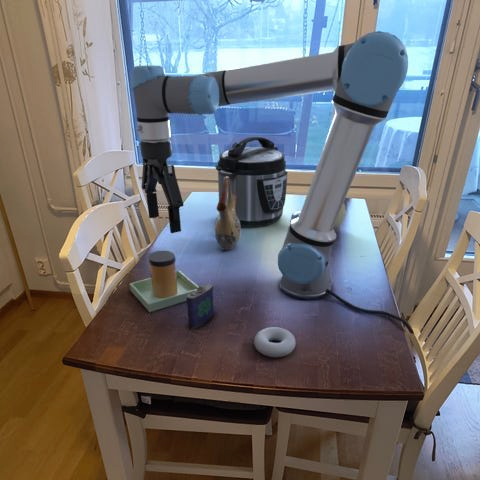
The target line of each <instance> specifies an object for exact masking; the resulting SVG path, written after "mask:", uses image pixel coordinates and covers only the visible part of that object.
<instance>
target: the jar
mask: <svg viewBox="0 0 480 480" xmlns="http://www.w3.org/2000/svg"><path fill="white" fill-rule="evenodd" d="M176 261H177V258H176V254H175V252H173V251H170V250H155V251H153V252H150V253H149V254H148V255H147V262H148V263H147V264H149V265H148V266H149V274H150V278H151V282H152V290H153V295H154V296H156V297H159V298H168V297H171V296H174V295H176V294H177V292H178V289H177V277H176V271H177V267H176Z"/></svg>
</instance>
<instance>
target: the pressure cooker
mask: <svg viewBox="0 0 480 480" xmlns="http://www.w3.org/2000/svg"><path fill="white" fill-rule="evenodd" d="M253 141H257V142H258V143H259V144H260V146H250V147H246V146H247V144H248V143H250V142H253ZM214 168H215V170H216V171H217V176H218V177H217V185H218V189H217V190H218V201H219V200H220V197H221V194H222V190H223V183H224V179H225V177H229V178H230V181H231V188H232V193H233V195H236V196H237V199H236V203H235V212H236V215H237V217H238V219H239V221H240V225H241V227H264V226H267V225H272V224H274V223H276V222H278V221H279V220H280V219H281V218H282V216H283V212H284V207H285V203H286V197H287V187H288V171H287V161H286V160H285V154H284V153H283V152H281V151H279V148H278V146H276V145H275V143H274V142H273V141H271V140H270V139H269V138H266V137H263V136H260V135H259V136H258V135H255V136H248V137H246V138H243V139H241V140H240V141H238V142H236V141H235V142H234V143H233V144H232V146H231V148H229V149H227V150H224V151H222V152H220V154H219V159H218V161H217V164H216V165H215V166H214ZM227 191H228V183H227V186H226V206H227Z"/></svg>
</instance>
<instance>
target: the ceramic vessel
mask: <svg viewBox="0 0 480 480" xmlns="http://www.w3.org/2000/svg"><path fill="white" fill-rule="evenodd" d="M227 183H228V191H227V206H226V186H227ZM236 199H237V196H236V195H233V193H232V188H231V181H230V178H229V177H225V179H224V183H223V190H222V194H221V197H220V200H219V199H218V203H217V205H216V210H217V212H218V214H219V216H218V217H217V219H216V221H215V225H214V238H215V241H216V243H217V245H218V246H219V248H221V249H222V250H224V251H231V250H233V249H234V248H235V247H236V246H237V245H238V243H239V241H240V238H241V234H242V226H241V225H240V221H239V219H238V217H237V215H236V212H235V203H236Z"/></svg>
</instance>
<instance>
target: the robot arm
mask: <svg viewBox="0 0 480 480" xmlns="http://www.w3.org/2000/svg"><path fill="white" fill-rule="evenodd" d="M408 69H409V57H408V52H407V50H406V47H405V44H403V41H401V40H400V38H398V36H396V35H395V34H392V33H391V32H388V31H387V32H385V31H381V30H379V31H372V32H368V33H366V34H363V36H361V37H359V38H358V39H357V40H355V41H354V42H351V43H346V44H343V45H337V46H336V47H335V49H334V50H333V51H332V52H326V53H320V54H314V55H307V56H302V57H296V58H295V57H294V58H291V59H284V60H278V61H277V60H276V61H271V62H266V63H259V64H255V65H247V66H242V67H241V66H240V67H235V68H230V69H225V70H218V71H209V72H205V73H201V74H200V73H199V74H194V75H180V76H178V75H177V76H175V75H173V76H172V75H166V69H165V67H164V66H162V65H154V64H153V65H151V64H150V65H149V64H148V65H135V66H133V67H132V69H131V81H132V82H131V83H132V84H131V86H132V88H131V90H132V93H133V99H134V106H135V114H136V122H137V126H136V127H135V129H136V131H137V132H138V137H139V139H140V140H141V141H140V142H139V146H140V155H141V157H142V174H141V177H142V178H141V189H142V190H143V191H144V194H146V195H145V196H146V204H147V205H146V206H147V211H148V212H147V213H148V218H149V219H154V218H160V213H159V212H160V211H159V203H158V194H157V193H158V191H157V189H156V188H157V185H158V184H159V185H160V186H161V188H162V191H163V193H164V196H165V198H166V202H167V205H168V206H167V207H166V209H167V212H168V213H167V214H168V222H169V232H170V234H176V233H181V232H182V225H181V214H180V208H182V207H184V200H183V197H182V194H181V190H180V186H179V182H178V180H177V175H176V170H175V165H174V164H169V163H168V159H169V158H171V157H172V156H173V148H172V141H171V140H170V138H171V137H172V136H171V125H170V117H169V116H170V115H169V114H180V115H181V114H182V115H184V114H185V115H198V116H203V115H213V114H215V113H216V112H217V110H218V108H219V107H223V106H230V105H236V104H245V103H251V102H252V103H253V102H258V101H265V100H266V101H267V100H274V99H281V98H282V99H283V98H289V97H295V96H297V97H298V96H303V95H311V94H318V93H325V92H334V94H333V97H332V100H331V103H332V107H333V108H334V113H335V114H334V116H333V119H332V122H331V125H330V128H329V131H328V134H327V137H326V139H325V142H324V145H323V148H322V151H321V154H320V156H319V160H318V161H317V166H316V168H315V171H314V174H313V177H312V180H311V183H310V186H309V188H308V191H307V194H306V196H305V200H304V202H303V205H302V208H301V210H297V211H294V212H293V213H292V214H291V217H290V220H289V223H290V224H289V227H288V229H287V233H286V236H285V238H284V240H283V241H284V242H283V244H282V247H281V249H280V250H279V252H278V254H277V267H278V270H279V271H280V274H281V279H280V280H279V281H280V285H279V286H280V290H281V291H282V292H283V293H284V294H285V295H287V296H289V297H291V298H295V299H299V300H305V301H308V300H309V301H310V300H311V301H312V300H319V299H323V298H325V297H327V296H328V295H330V296H332V297H333V298H335V299H336V300H338V301H339V302H341V303H342V304H344V305H346V306H347V307H349V308H351V309H353V310H354V311H358V312H361V313H363V314H376V315H384V316H386V317H390V318H392V319H395V320H398V321H399V322H400V323H402V324H403V326H405V327H406V329H407V330H408V332H409V334H411V335H413V334H415V331H414V329H413V327H412V326H411V325H410V323H409V322H408V321H407V320H406V319H404V318H403V317H401V316H399V315H396V314H393V313H391V312H387V311H384V310H376V309H366V308H362V307H359V306H356V305H354V304H352V303H350V302H348V301H347V300H345V299H344V298H342V297H340V296H339V295H337V294H336V293H335V292H333V291H332V287H333V282H332V278H331V273H330V268H329V260H330V253H331V252H332V250H333V249H332V248H333V246H334V244H335V241H336V239H337V233H336V231H335V229H333V227H334V225H335V222H336V220H337V217H338V215H339V213H340V210H341V208H342V205H343V203H344V204H345V200H346V197H347V195H348V193H349V191H350V188H351V185H352V183H353V181H354V178H355V176H356V174H357V171H358V168H359V166H360V163H361V160H362V158H363V156H364V153H365V151H366V148H367V146H368V144H369V142H370V138H371V136H372V133H373V131H374V128H375V126H376V125H377V124H380V123H382V122H383V121H385V120H386V119H387V117H388V114H389V112H390V109H391V107H392V105H393V102H394V100H395V99H396V96H397V93H398V92H399V91H400V88H401V87H402V86H403V84H404V83H405V79H406V77H407V75H408Z"/></svg>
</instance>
